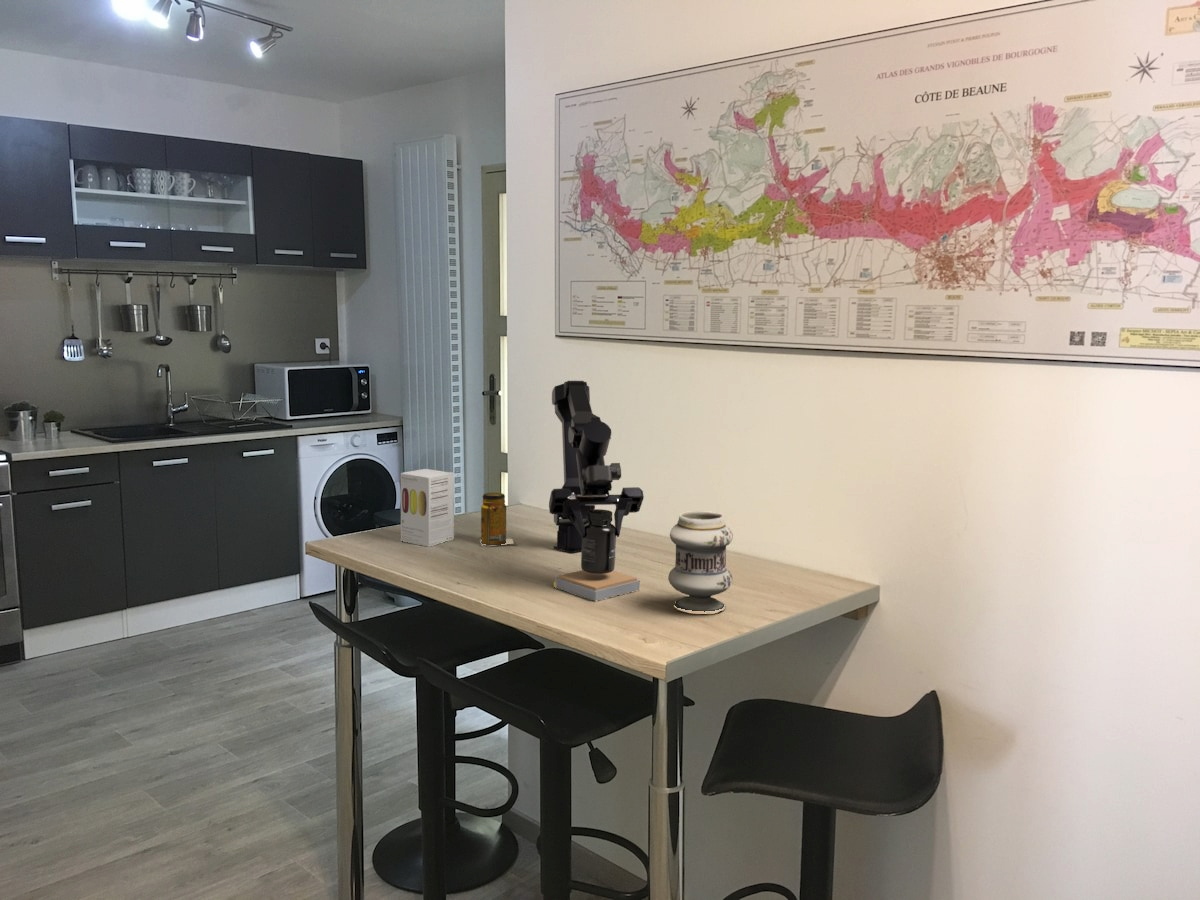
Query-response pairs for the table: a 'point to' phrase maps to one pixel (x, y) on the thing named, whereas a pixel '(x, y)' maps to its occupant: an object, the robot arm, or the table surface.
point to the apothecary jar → (700, 560)
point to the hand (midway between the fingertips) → (601, 536)
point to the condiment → (493, 519)
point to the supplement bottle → (599, 543)
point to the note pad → (596, 584)
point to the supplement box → (427, 507)
